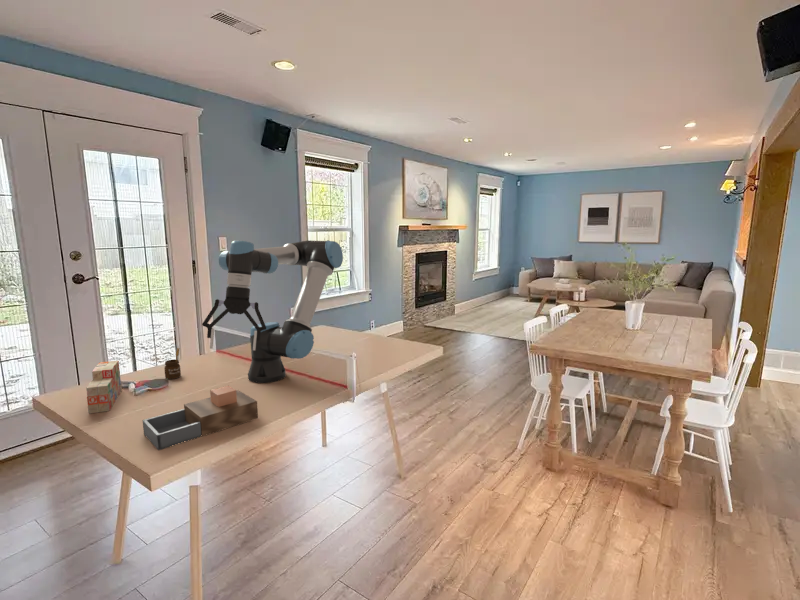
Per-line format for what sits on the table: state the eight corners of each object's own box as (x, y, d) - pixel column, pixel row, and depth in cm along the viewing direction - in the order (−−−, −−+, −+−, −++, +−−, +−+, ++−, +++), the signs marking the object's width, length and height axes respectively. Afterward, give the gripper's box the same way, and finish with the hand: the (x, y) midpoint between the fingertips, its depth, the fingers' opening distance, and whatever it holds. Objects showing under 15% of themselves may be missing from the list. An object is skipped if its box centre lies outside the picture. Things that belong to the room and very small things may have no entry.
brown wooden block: (239, 406, 153) (238, 390, 152) (258, 418, 143) (257, 401, 142) (185, 421, 140) (183, 404, 139) (202, 436, 130) (200, 417, 129)
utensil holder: (162, 377, 182) (159, 350, 180) (176, 373, 187) (174, 346, 185) (169, 380, 179) (167, 352, 177) (184, 376, 184) (182, 348, 182)
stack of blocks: (110, 411, 149) (106, 376, 147) (88, 414, 146) (84, 379, 144) (122, 390, 168) (118, 359, 166) (102, 392, 165) (99, 361, 164)
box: (184, 422, 140) (183, 408, 139) (201, 436, 130) (200, 422, 130) (143, 433, 132) (142, 420, 131) (158, 450, 122) (157, 435, 121)
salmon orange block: (229, 396, 146) (228, 385, 145) (236, 401, 141) (236, 390, 141) (210, 401, 141) (210, 390, 141) (218, 407, 137) (217, 395, 137)
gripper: (197, 282, 139) (191, 348, 139) (277, 289, 148) (271, 351, 148) (199, 283, 146) (193, 346, 146) (275, 290, 155) (270, 349, 155)
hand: (232, 349), depth 147 cm, fingers open, 13 cm apart
